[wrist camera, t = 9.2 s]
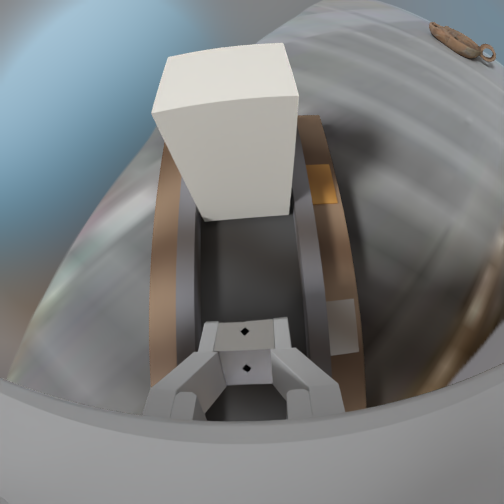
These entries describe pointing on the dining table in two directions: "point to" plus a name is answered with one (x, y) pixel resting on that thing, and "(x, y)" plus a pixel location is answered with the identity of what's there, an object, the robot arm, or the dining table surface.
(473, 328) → the dining table surface
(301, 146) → the switch housing
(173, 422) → the robot arm
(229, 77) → the switch knob
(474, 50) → the oil lamp
